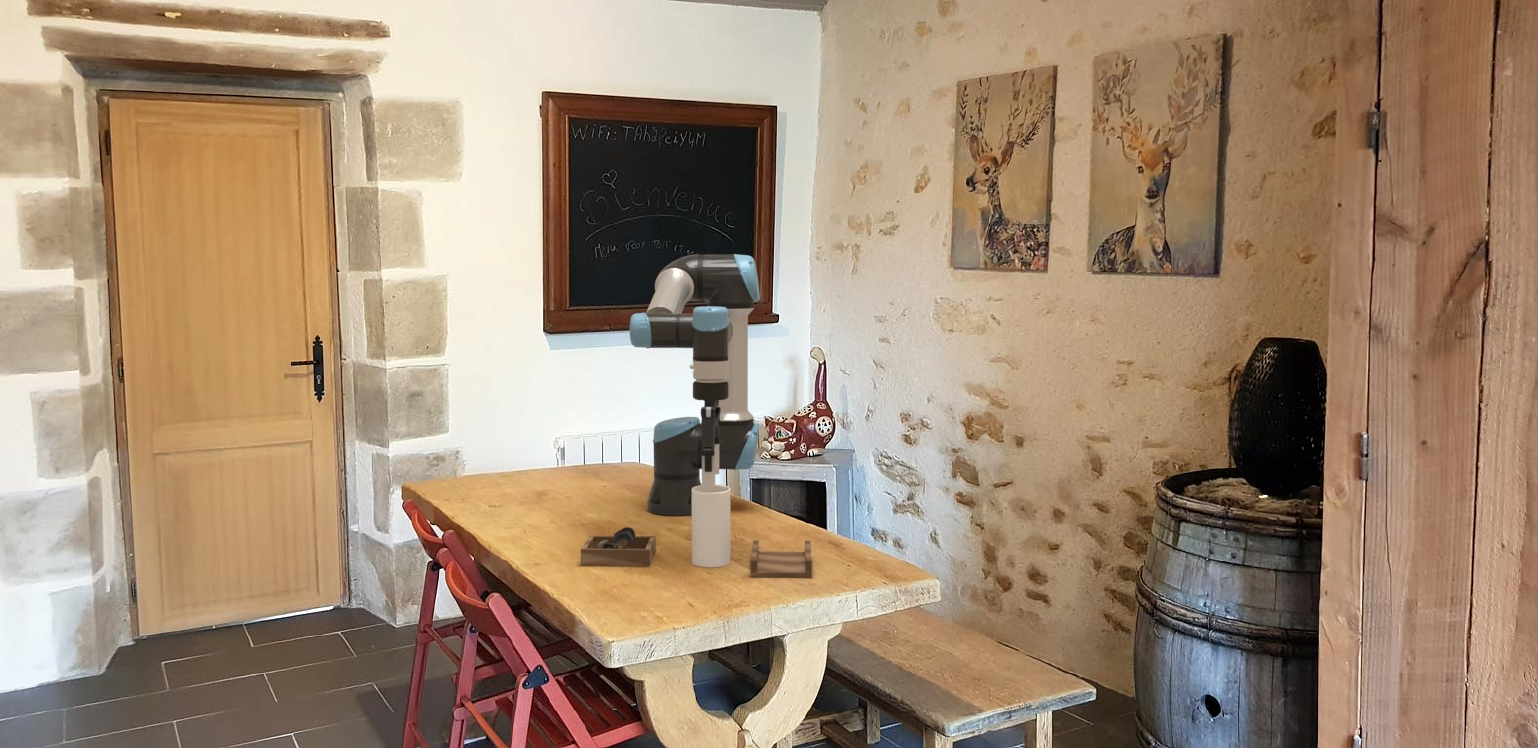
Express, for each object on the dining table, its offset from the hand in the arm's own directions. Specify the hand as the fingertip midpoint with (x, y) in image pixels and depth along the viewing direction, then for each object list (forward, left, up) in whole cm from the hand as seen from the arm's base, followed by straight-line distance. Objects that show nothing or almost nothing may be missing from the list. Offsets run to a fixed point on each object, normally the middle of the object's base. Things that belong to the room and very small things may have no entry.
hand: (710, 480), depth 241 cm
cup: (0, 0, -18) cm, 18 cm away
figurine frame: (-2, -20, -18) cm, 27 cm away
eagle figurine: (-2, -20, -18) cm, 27 cm away
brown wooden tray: (+3, +15, -18) cm, 23 cm away
